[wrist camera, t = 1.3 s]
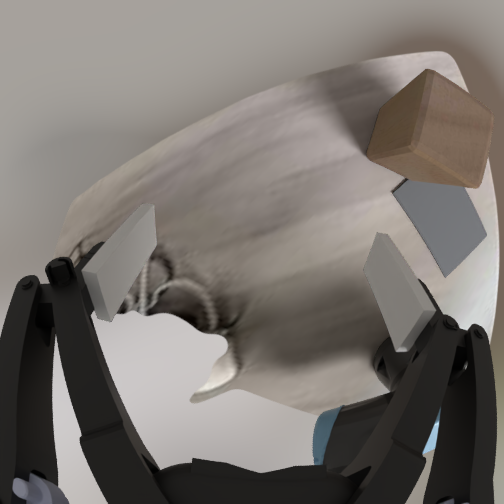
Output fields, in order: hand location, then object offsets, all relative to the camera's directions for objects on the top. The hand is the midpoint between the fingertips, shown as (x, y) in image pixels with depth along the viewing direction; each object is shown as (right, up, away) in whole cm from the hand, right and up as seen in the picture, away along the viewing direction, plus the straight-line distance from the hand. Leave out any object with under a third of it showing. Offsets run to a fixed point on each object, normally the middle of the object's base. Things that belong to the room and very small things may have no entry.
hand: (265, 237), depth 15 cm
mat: (+34, +6, +23) cm, 42 cm away
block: (+23, +17, +22) cm, 36 cm away
